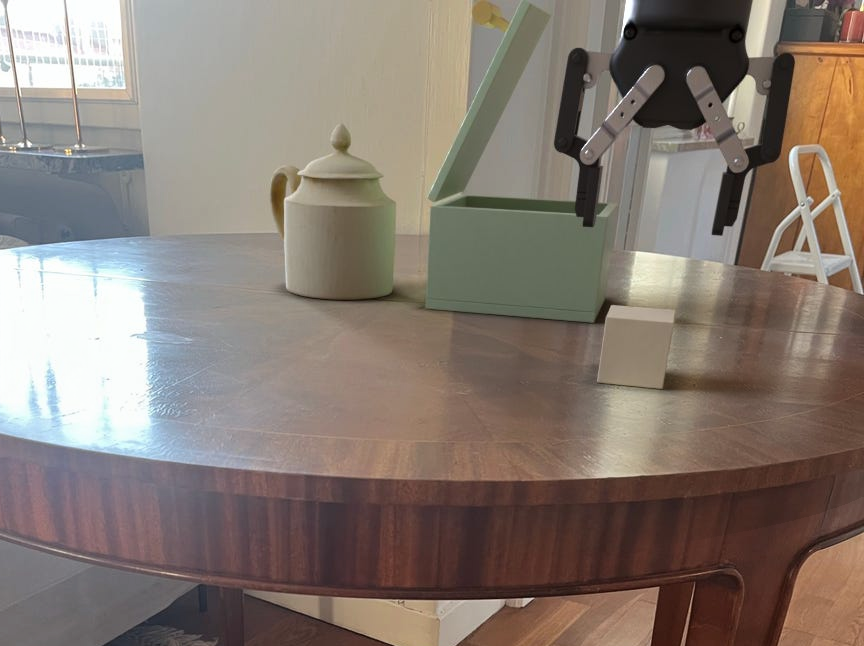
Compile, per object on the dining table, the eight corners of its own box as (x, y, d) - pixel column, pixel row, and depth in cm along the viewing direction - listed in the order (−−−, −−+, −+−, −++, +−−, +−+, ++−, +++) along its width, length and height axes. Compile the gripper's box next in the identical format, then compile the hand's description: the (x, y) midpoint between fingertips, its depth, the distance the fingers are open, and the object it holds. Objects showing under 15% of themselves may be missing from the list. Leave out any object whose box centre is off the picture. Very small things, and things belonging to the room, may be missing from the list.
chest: (605, 298, 97) (618, 203, 93) (593, 323, 86) (608, 216, 82) (454, 286, 101) (460, 194, 96) (425, 308, 90) (430, 206, 86)
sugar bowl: (232, 291, 95) (223, 120, 88) (278, 274, 104) (274, 118, 97) (372, 304, 91) (375, 126, 84) (407, 286, 100) (413, 124, 93)
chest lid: (551, 15, 87) (504, -14, 87) (530, 3, 76) (477, -30, 76) (463, 191, 96) (421, 165, 96) (434, 202, 85) (386, 173, 85)
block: (664, 373, 71) (675, 309, 69) (662, 389, 67) (674, 322, 65) (602, 367, 72) (611, 304, 70) (596, 382, 68) (606, 316, 66)
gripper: (819, -54, 58) (758, 231, 66) (585, -55, 62) (554, 217, 70) (833, -74, 52) (763, 245, 60) (571, -73, 55) (539, 229, 63)
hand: (651, 230), depth 65 cm, fingers open, 8 cm apart
